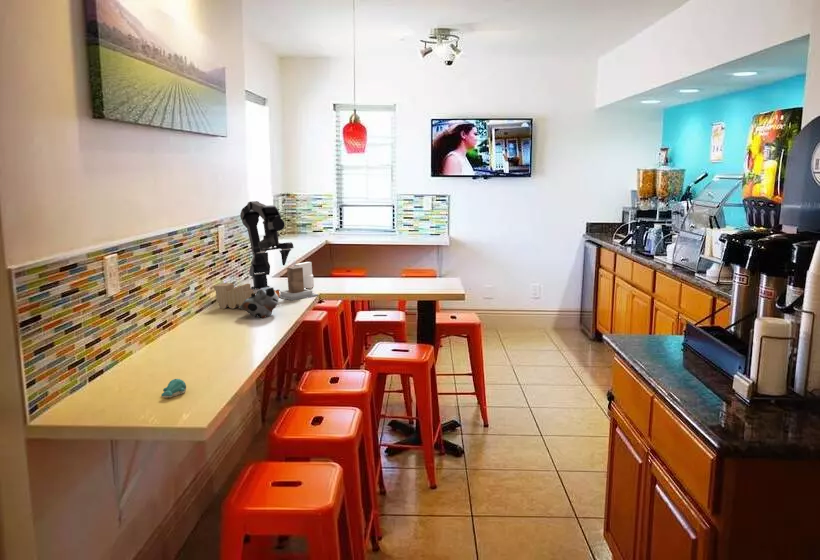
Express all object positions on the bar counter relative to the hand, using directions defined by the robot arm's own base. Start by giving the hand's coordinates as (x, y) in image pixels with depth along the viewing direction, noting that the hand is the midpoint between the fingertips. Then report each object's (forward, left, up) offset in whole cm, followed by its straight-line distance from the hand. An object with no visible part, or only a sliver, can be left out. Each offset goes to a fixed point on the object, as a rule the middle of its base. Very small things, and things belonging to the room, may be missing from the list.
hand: (275, 266), depth 295 cm
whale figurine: (+76, -111, -13) cm, 136 cm away
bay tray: (+12, 0, -13) cm, 18 cm away
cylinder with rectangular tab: (0, +18, -13) cm, 22 cm away
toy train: (+6, -30, -13) cm, 33 cm away
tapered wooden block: (+12, 0, -12) cm, 18 cm away
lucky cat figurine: (+27, -35, -13) cm, 47 cm away
